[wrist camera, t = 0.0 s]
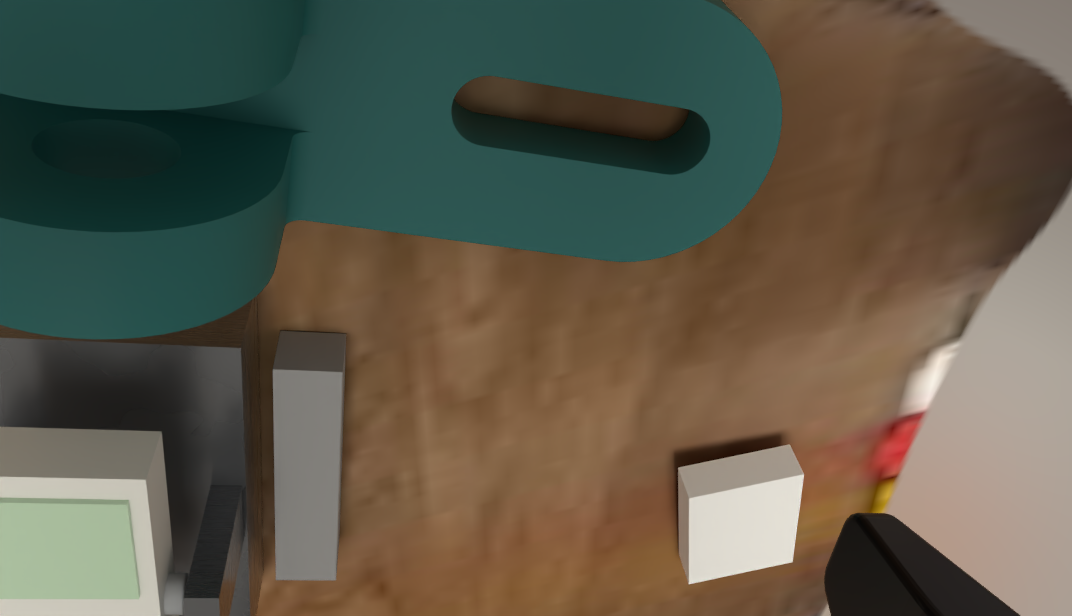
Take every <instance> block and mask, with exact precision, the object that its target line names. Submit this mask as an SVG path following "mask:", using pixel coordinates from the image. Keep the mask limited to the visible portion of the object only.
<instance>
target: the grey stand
mask: <svg viewBox="0 0 1072 616" xmlns="http://www.w3.org/2000/svg"><path fill="white" fill-rule="evenodd" d="M0 427H26V428H61V429H95V430H130V431H162V441H163V451H164V462H165V473H166V483H167V494H168V505H169V515H170V526H171V537H172V547H173V558H174V569H175V573H188V581H187V585H186V589H185V593H184V597H183V601H184V614H183V615H179V616H256V614H257V608H258V601H259V595H260V589H261V583H262V577H263V570H264V560H263V519H262V477H261V436H260V395H259V353H258V312H257V296H256V297H255V298H253V299H252V300H251V301H249V302H248V303H247V304H245V305H244V306H242V307H241V308H239V309H237V310H235V311H233V312H232V313H230V314H228V315H226V316H223V317H221V318H219V319H216V320H214V321H211V322H208V323H205V324H203V325H200V326H197V327H193V328H189V329H185V330H181V331H177V332H172V333H167V334H162V335H155V336H148V337H140V338H127V339H75V338H64V337H55V336H48V335H42V334H36V333H30V332H26V331H22V330H17V329H13V328H9V327H6V326H3V325H0Z"/></svg>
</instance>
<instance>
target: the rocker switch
mask: <svg viewBox="0 0 1072 616" xmlns="http://www.w3.org/2000/svg"><path fill="white" fill-rule="evenodd" d="M187 581H188V573H175V569H174V558H173V547H172V537H171V526H170V515H169V505H168V494H167V483H166V473H165V462H164V451H163V441H162V431H130V430H95V429H61V428H26V427H0V616H179V615H183V614H184V601H183V597H184V593H185V589H186V585H187Z"/></svg>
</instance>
